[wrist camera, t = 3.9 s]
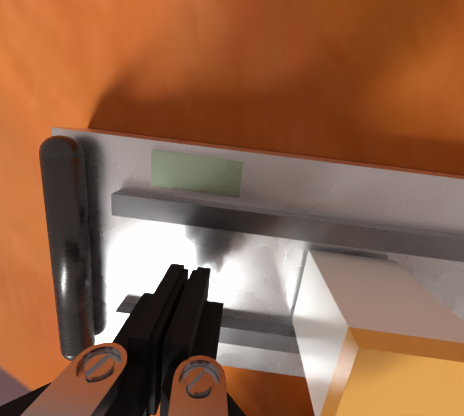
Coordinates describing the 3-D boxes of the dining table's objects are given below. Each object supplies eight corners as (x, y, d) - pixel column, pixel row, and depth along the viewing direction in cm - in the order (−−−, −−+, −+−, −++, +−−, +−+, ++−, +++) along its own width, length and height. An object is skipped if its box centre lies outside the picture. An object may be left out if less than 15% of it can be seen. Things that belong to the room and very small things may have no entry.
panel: (627, 195, 13) (795, 224, 9) (518, 373, 16) (604, 450, 12) (86, 128, 13) (20, 126, 9) (96, 313, 17) (51, 368, 13)
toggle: (395, 261, 12) (519, 370, 6) (370, 330, 13) (457, 471, 7) (308, 249, 12) (358, 347, 6) (292, 320, 13) (323, 451, 8)
